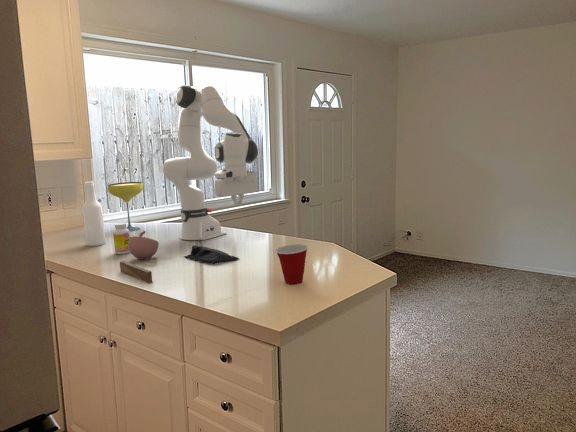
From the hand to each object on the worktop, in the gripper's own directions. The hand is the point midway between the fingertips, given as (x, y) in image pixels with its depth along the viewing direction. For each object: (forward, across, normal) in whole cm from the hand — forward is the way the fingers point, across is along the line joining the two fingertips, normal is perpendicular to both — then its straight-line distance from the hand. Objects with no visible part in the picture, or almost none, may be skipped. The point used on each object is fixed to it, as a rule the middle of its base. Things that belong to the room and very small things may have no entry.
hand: (238, 205), depth 206 cm
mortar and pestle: (+20, +33, -22) cm, 44 cm away
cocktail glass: (+19, +8, -88) cm, 91 cm away
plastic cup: (+20, +16, +49) cm, 55 cm away
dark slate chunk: (+20, +15, 0) cm, 25 cm away
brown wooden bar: (+20, +47, 0) cm, 51 cm away
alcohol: (+20, +35, -67) cm, 78 cm away
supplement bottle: (+20, +34, -40) cm, 56 cm away
